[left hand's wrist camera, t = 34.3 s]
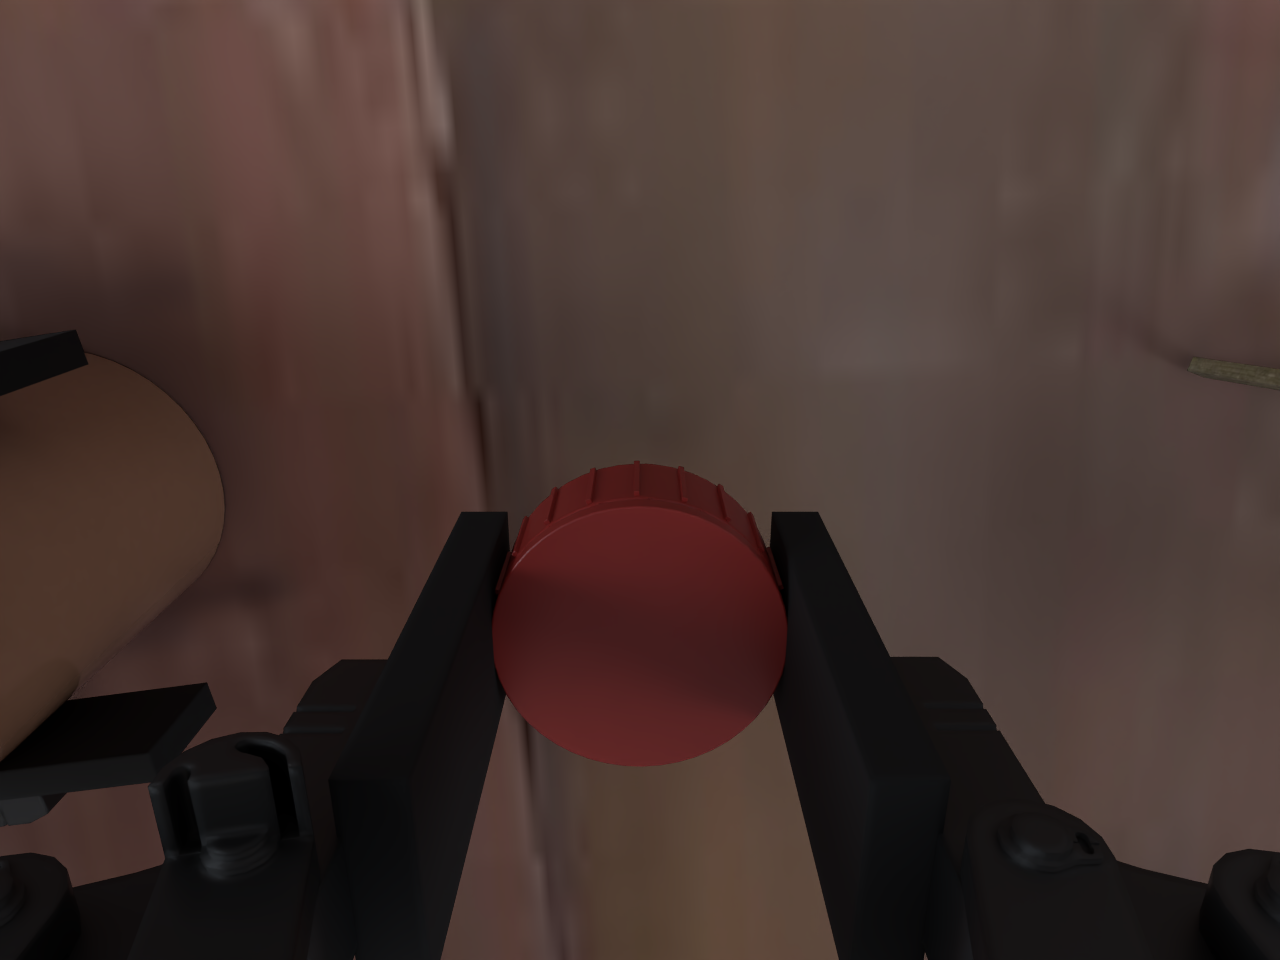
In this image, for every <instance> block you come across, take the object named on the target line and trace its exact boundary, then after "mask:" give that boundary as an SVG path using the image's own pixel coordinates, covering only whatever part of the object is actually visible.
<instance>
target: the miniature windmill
mask: <svg viewBox="0 0 1280 960" xmlns="http://www.w3.org/2000/svg"><path fill="white" fill-rule="evenodd" d="M1187 371H1189V372H1192V373H1194V374H1197V375H1199V376H1202V377H1205V378H1211V379H1217V380H1222V381H1228V382H1234V383H1240V384H1246V385H1252V386H1258V387H1264V388H1269V389H1275V390H1280V369H1274V368H1267V367H1260V366H1253V365H1246V364H1239V363H1233V362H1226V361H1219V360H1212V359H1205V358H1198V357H1193V359H1192V361H1191V363H1190V366H1189V368H1188V370H1187Z"/></svg>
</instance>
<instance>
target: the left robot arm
mask: <svg viewBox="0 0 1280 960" xmlns="http://www.w3.org/2000/svg"><path fill="white" fill-rule="evenodd" d="M770 548H771V551H772V554H773V557H774V560H775V563H776V566H777V569H778V572H779V575H780V578H781V581H782V584H783V587H784V589H782V590H780V592H781V595H782V598H783V601H784V604H785V608H786V614H787V619H788V626H787V642H786V656H785V666H784V670H783V673H782V676H781V678H780V681H779V683H778V685H777V687H776V690H775V691H774V693H773V694H774V698H775V702H776V706H777V711H778V715H779V719H780V723H781V727H782V731H783V735H784V739H785V743H786V747H787V751H788V755H789V759H790V763H791V767H792V771H793V775H794V779H795V783H796V787H797V791H798V796H799V800H800V804H801V808H802V812H803V816H804V820H805V824H806V828H807V832H808V836H809V840H810V844H811V848H812V852H813V856H814V860H815V864H816V868H817V872H818V876H819V881H820V885H821V889H822V893H823V897H824V901H825V905H826V909H827V913H828V917H829V921H830V925H831V929H832V933H833V937H834V941H835V945H836V949H837V953H838V957H839V960H924V954H925V953H926V956H927V958H928V960H1280V853H1279V852H1271V851H1262V850H1254V849H1246V850H1241V851H1236V852H1230V853H1226V854H1225V855H1224V856H1223V857H1222V858H1221V859H1220V860H1219V861H1217V862H1216V863H1215V864H1214V865H1213V869H1212V872H1211V875H1210V879H1209V882H1208V884H1205V883H1201V882H1197V881H1192V880H1188V879H1184V878H1180V877H1175V876H1171V875H1167V874H1163V873H1158V872H1154V871H1150V870H1145V869H1142V868H1139V867H1135V866H1132V865H1129V864H1126V863H1122V862H1119V861H1117V860H1116V859H1115V857H1114V855H1113V854H1112V852H1111V850H1110V849H1109V847H1108V846H1107V844H1106V843H1105V841H1104V840H1103V838H1102V837H1101V836H1100V835H1099V834H1098V833H1096V832H1095V831H1094V830H1093V829H1092V828H1090V827H1089V826H1088V825H1087V824H1086V823H1084V822H1083V821H1082V820H1081V819H1079V818H1077V817H1075V816H1073V815H1071V814H1069V813H1067V812H1065V811H1063V810H1061V809H1059V808H1057V807H1055V806H1052V805H1048V804H1045V803H1044V801H1043V799H1042V798H1041V796H1040V795H1039V793H1038V791H1037V790H1036V788H1035V787H1034V785H1033V783H1032V782H1031V780H1030V779H1029V777H1028V775H1027V774H1026V772H1025V771H1024V769H1023V767H1022V766H1021V764H1020V763H1019V761H1018V759H1017V758H1016V756H1015V755H1014V753H1013V751H1012V750H1011V748H1010V747H1009V745H1008V743H1007V742H1006V740H1005V739H1004V737H1003V735H1002V734H1001V732H1000V731H997V730H996V724H995V722H994V721H993V719H992V718H991V716H990V714H989V713H988V711H987V710H986V709H983V703H982V702H981V700H980V698H979V697H978V695H977V694H976V692H975V690H974V689H973V687H972V686H971V684H970V682H969V681H968V679H967V678H966V677H964V676H963V675H962V674H960V673H959V672H958V671H956V670H955V669H954V668H952V667H951V666H950V665H948V664H947V663H946V662H944V661H943V660H942V659H940V658H939V657H890V656H889V654H888V652H887V650H886V648H885V646H884V644H883V642H882V640H881V638H880V636H879V634H878V632H877V630H876V628H875V626H874V624H873V622H872V619H871V617H870V615H869V613H868V611H867V609H866V607H865V605H864V603H863V601H862V599H861V597H860V595H859V593H858V591H857V589H856V587H855V585H854V583H853V581H852V579H851V577H850V575H849V573H848V571H847V569H846V567H845V565H844V563H843V561H842V559H841V557H840V555H839V553H838V551H837V549H836V547H835V545H834V543H833V541H832V539H831V537H830V535H829V533H828V531H827V529H826V527H825V525H824V523H823V521H822V519H821V517H820V515H819V513H818V512H772V521H771V538H770ZM508 551H509V552H510V548H509V531H508V513H507V512H461V514H460V516H459V518H458V520H457V522H456V524H455V526H454V528H453V530H452V532H451V534H450V536H449V538H448V540H447V542H446V544H445V546H444V548H443V550H442V552H441V554H440V556H439V558H438V560H437V562H436V564H435V566H434V568H433V570H432V572H431V574H430V576H429V578H428V580H427V582H426V584H425V586H424V588H423V590H422V592H421V594H420V596H419V598H418V600H417V602H416V604H415V606H414V608H413V610H412V612H411V614H410V616H409V618H408V620H407V622H406V624H405V626H404V628H403V630H402V632H401V634H400V636H399V638H398V640H397V642H396V644H395V646H394V648H393V650H392V652H391V654H390V656H389V658H388V660H340V661H339V662H338V663H336V664H335V665H334V666H333V667H331V668H330V669H329V670H327V671H326V672H325V673H323V674H322V675H321V676H319V677H318V678H317V679H315V680H314V681H313V682H312V683H311V685H310V687H309V688H308V690H307V691H306V693H305V695H304V696H303V698H302V699H301V701H300V703H299V704H298V706H297V711H296V712H293V714H292V716H291V717H290V719H289V720H288V722H287V724H286V725H285V727H284V732H283V734H280V735H275V734H272V733H268V732H240V733H236V734H232V735H227V736H223V737H219V738H215V739H211V740H209V741H207V742H204V743H202V744H200V745H198V746H195V747H193V748H191V749H189V750H186V751H184V752H183V753H182V754H180V755H179V756H177V757H176V758H175V759H173V760H172V761H171V762H169V763H168V764H167V765H165V766H164V767H162V768H161V770H160V771H159V772H158V774H157V775H156V776H155V778H154V779H153V780H152V782H151V783H150V785H149V786H148V789H149V793H150V797H151V802H152V806H153V810H154V814H155V818H156V822H157V826H158V830H159V834H160V838H161V843H162V847H163V851H164V855H165V860H164V863H163V864H162V865H159V866H156V867H153V868H150V869H146V870H143V871H140V872H137V873H133V874H128V875H124V876H120V877H116V878H111V879H107V880H103V881H99V882H94V883H90V884H86V885H82V886H77V887H73V888H72V885H71V881H70V878H69V874H68V871H67V869H66V868H65V867H64V866H63V865H62V864H61V863H60V862H59V861H58V860H57V859H56V858H55V857H51V856H46V855H41V854H36V853H24V854H16V855H8V856H1V857H0V960H353V958H354V955H355V958H356V960H440V959H441V955H442V951H443V947H444V943H445V939H446V935H447V931H448V927H449V923H450V919H451V915H452V911H453V907H454V902H455V898H456V894H457V890H458V886H459V882H460V878H461V874H462V870H463V866H464V862H465V858H466V854H467V850H468V846H469V842H470V838H471V834H472V830H473V826H474V822H475V818H476V813H477V809H478V805H479V801H480V797H481V793H482V789H483V785H484V781H485V777H486V773H487V769H488V765H489V761H490V757H491V753H492V749H493V745H494V741H495V737H496V733H497V729H498V724H499V720H500V716H501V712H502V708H503V704H504V700H505V696H506V693H505V691H504V689H503V686H502V684H501V682H500V680H499V678H498V675H497V672H496V669H495V664H494V651H493V636H492V614H493V610H494V606H495V603H496V599H497V596H498V595H496V594H495V589H496V586H497V583H498V580H499V577H500V574H501V571H502V568H503V565H504V562H505V559H506V556H507V553H508Z"/></svg>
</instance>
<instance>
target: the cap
mask: <svg viewBox="0 0 1280 960" xmlns="http://www.w3.org/2000/svg"><path fill="white" fill-rule="evenodd" d="M782 589H784V587H783V584H782V581H781V578H780V575H779V572H778V569H777V566H776V563H775V560H774V557H773V554H772V551H771V548H770V547H767V548H766V546H765V543H764V540H763V538H762V536H761V534H760V532H759V530H758V528H757V526H756V522H755V519H754V516H753V514H752V513H751V512H749V513H748V514H747V512H746V511H745V510H744V509H743V508H742V507H741V506H740V505H739V504H738V503H737V502H736V500H734V499H733V498H732V497H731V496H729V495H728V494H727V493H726V492H725V491H724V488H723V486H722V485H720V484H718V486H716V485H714V484H712V483H711V482H709V481H707V480H705V479H703V478H701V477H699V476H697V475H694V474H692V473H689V472H686V471H684V467H681V466H679V467H678V469H676V468H673V467H667V466H661V465H654V464H640V461H634V464H628V465H617V466H613V467H608V468H603V469H599V470H596V468H592V469H590V473H588V474H585V475H582V476H580V477H578V478H576V479H574V480H572V481H570V482H568V483H567V484H565V485H564V486H562V487H561V488H559V489H557V487H555V488H553V489H552V491H551V495H550V496H549V497H547V498H546V499H545V500H544V501H543V502H542V503H541V504H540V505H539V506H538V507H537V508H536V509H535V511H534V512H533V513H532V514H531V515H530V516H529V517H527V516H525V517H524V519H523V521H522V525H521V528H520V531H519V534H518V537H517V539H516V541H515V544H514V546H513V549H512V552H509V551H508V553H507V556H506V559H505V562H504V565H503V568H502V571H501V574H500V577H499V580H498V583H497V586H496V589H495V594H496V595H498V596H497V599H496V603H495V606H494V610H493V614H492V636H493V651H494V664H495V669H496V672H497V675H498V678H499V680H500V682H501V684H502V686H503V689H504V691H505V693H506V695H507V696H508V698H509V699H510V701H511V702H512V704H513V705H514V707H515V708H516V710H517V711H518V712H519V713H520V714H521V715H522V716H523V717H524V719H525V720H526V721H527V722H528V723H529V724H530V725H531V726H533V727H534V728H535V729H536V730H537V731H538V732H539V733H541V734H542V735H543V736H545V737H546V738H548V739H549V740H551V741H552V742H554V743H555V744H557V745H559V746H561V747H563V748H565V749H567V750H569V751H570V752H573V753H575V754H578V755H581V756H583V757H586V758H588V759H592V760H596V761H600V762H604V763H609V764H616V765H622V766H656V765H664V764H670V763H675V762H680V761H683V760H687V759H690V758H694V757H697V756H699V755H701V754H704V753H706V752H709V751H711V750H713V749H715V748H717V747H718V746H720V745H722V744H724V743H726V742H727V741H729V740H730V739H732V738H733V737H734V736H736V735H737V734H738V733H740V732H741V731H742V730H744V729H745V728H746V727H747V726H748V725H749V724H750V723H751V722H752V721H753V720H754V719H755V718H756V717H757V716H758V714H759V713H760V712H761V711H762V710H763V708H764V707H765V706H766V704H767V703H768V701H769V700H770V698H771V696H772V695H773V693H774V691H775V690H776V687H777V685H778V683H779V681H780V678H781V676H782V673H783V670H784V666H785V656H786V642H787V626H788V619H787V614H786V608H785V604H784V601H783V598H782V595H781V592H780V590H782Z"/></svg>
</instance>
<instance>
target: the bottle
mask: <svg viewBox="0 0 1280 960" xmlns="http://www.w3.org/2000/svg"><path fill="white" fill-rule="evenodd" d="M85 356H86V358H87V361H88V365H85V366H83V367H80V368H77V369H74V370H72V371H69V372H66V373H63V374H61V375H58V376H55V377H52V378H49V379H47V380H44V381H41V382H38V383H36V384H33V385H30V386H27V387H25V388H22V389H19V390H16V391H14V392H11V393H8V394H5V395H2V396H0V762H1V761H2V760H3V759H4V758H5V757H6V756H7V755H9V754H10V753H11V752H12V751H13V750H14V749H15V748H16V747H17V746H18V745H19V744H20V743H21V742H23V741H24V740H25V739H26V738H27V737H28V736H29V735H30V734H31V733H32V732H33V731H34V730H35V729H36V728H38V727H39V726H40V725H41V724H42V723H43V722H44V721H45V720H46V719H47V718H48V717H49V716H50V715H52V714H53V713H54V712H55V711H56V710H57V709H58V708H59V707H60V706H61V705H62V704H63V703H64V702H66V701H67V700H68V699H69V698H70V697H71V696H72V695H73V694H74V693H75V692H76V691H77V690H78V689H80V688H81V687H82V686H83V685H84V684H85V683H86V682H87V681H88V680H89V679H90V678H91V677H92V676H94V675H95V674H96V673H97V672H98V671H99V670H100V669H101V668H102V667H103V666H104V665H105V664H106V663H108V662H109V661H110V660H111V659H112V658H113V657H114V656H115V655H116V654H117V653H118V652H119V651H120V650H122V649H123V648H124V647H125V646H126V645H127V644H128V643H129V642H130V641H131V640H132V639H133V638H134V637H136V636H137V635H138V634H139V633H140V632H141V631H142V630H143V629H144V628H145V627H146V626H147V625H148V624H150V623H151V622H152V621H153V620H154V619H155V618H156V617H157V616H158V615H159V614H160V613H161V612H162V611H164V610H165V609H166V608H167V607H168V606H169V605H170V604H171V603H172V602H173V601H174V600H175V599H176V598H178V597H179V596H180V595H181V594H182V593H183V592H184V591H185V590H186V589H187V588H188V587H189V586H190V585H192V584H193V583H194V582H195V581H196V580H197V579H198V578H199V576H200V575H201V574H202V573H203V572H204V570H205V569H206V568H207V566H208V565H209V563H210V561H211V560H212V558H213V556H214V555H215V552H216V550H217V547H218V544H219V542H220V539H221V534H222V530H223V525H224V511H225V504H224V492H223V486H222V482H221V477H220V473H219V470H218V467H217V465H216V462H215V459H214V456H213V454H212V452H211V450H210V448H209V446H208V444H207V442H206V440H205V439H204V437H203V436H202V434H201V433H200V431H199V430H198V428H197V427H196V425H195V424H194V422H193V421H192V420H191V419H190V418H189V416H188V415H187V414H186V413H185V412H184V410H183V409H182V408H181V407H180V406H179V405H178V404H177V403H176V402H175V401H174V400H173V399H172V398H171V397H170V396H168V395H167V394H166V393H165V392H164V391H162V390H161V389H160V388H159V387H157V386H156V385H155V384H153V383H152V382H151V381H149V380H148V379H146V378H144V377H143V376H141V375H139V374H138V373H136V372H134V371H133V370H131V369H129V368H127V367H124V366H122V365H120V364H118V363H116V362H114V361H111V360H108V359H105V358H102V357H99V356H96V355H93V354H88V353H85Z"/></svg>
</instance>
